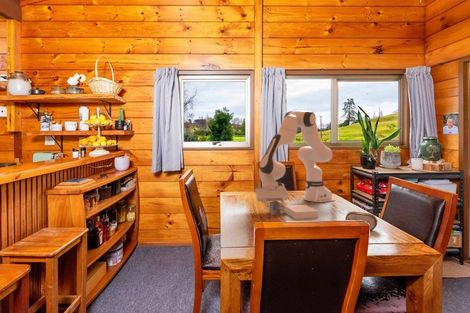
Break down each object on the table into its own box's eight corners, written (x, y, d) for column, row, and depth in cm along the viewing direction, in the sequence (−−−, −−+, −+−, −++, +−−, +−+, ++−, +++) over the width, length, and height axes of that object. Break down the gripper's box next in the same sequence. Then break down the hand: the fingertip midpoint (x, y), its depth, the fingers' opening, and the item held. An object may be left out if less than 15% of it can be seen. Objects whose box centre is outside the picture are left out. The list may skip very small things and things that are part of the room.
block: (277, 212, 191) (277, 201, 191) (280, 214, 186) (280, 203, 186) (269, 212, 190) (269, 201, 190) (272, 215, 185) (272, 203, 185)
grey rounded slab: (377, 230, 156) (377, 214, 156) (376, 232, 153) (376, 215, 153) (345, 226, 164) (346, 210, 163) (344, 227, 161) (345, 211, 160)
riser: (305, 211, 195) (305, 204, 195) (317, 217, 179) (318, 210, 179) (284, 212, 192) (284, 205, 191) (295, 219, 176) (295, 212, 176)
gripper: (255, 184, 192) (259, 203, 183) (286, 183, 196) (292, 202, 187) (252, 190, 196) (257, 209, 187) (283, 189, 201) (289, 208, 192)
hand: (275, 206), depth 187 cm, fingers open, 8 cm apart
